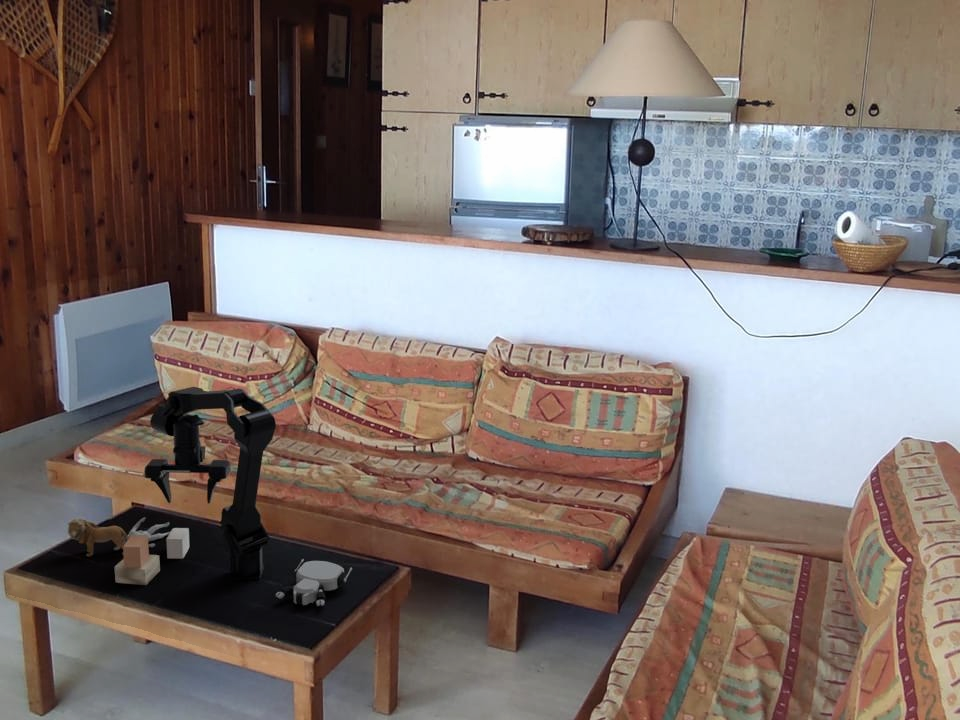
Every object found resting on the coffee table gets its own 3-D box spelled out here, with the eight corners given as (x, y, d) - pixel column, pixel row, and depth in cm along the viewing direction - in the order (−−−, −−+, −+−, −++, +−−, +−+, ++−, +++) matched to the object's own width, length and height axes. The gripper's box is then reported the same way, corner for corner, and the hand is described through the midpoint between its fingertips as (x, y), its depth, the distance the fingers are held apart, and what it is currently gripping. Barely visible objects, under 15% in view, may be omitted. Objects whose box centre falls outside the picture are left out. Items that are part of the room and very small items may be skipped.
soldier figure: (177, 543, 226) (136, 545, 216) (165, 553, 228) (124, 555, 218) (167, 515, 229) (127, 516, 219) (155, 525, 231) (114, 526, 221)
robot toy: (324, 618, 195) (353, 581, 208) (323, 599, 193) (353, 563, 207) (272, 607, 198) (304, 572, 212) (271, 589, 197) (303, 554, 210)
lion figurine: (68, 561, 213) (65, 524, 211) (71, 550, 218) (68, 515, 216) (136, 555, 217) (133, 519, 215) (137, 545, 222) (135, 510, 220)
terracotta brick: (149, 555, 209) (147, 535, 208) (141, 567, 203) (139, 547, 202) (132, 555, 209) (131, 534, 208) (124, 567, 203) (123, 546, 202)
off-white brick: (189, 547, 222) (188, 528, 221) (183, 558, 216) (182, 539, 215) (174, 547, 222) (173, 528, 221) (167, 558, 216) (166, 539, 215)
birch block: (160, 571, 210) (159, 555, 209) (145, 586, 204) (144, 569, 203) (130, 568, 211) (129, 552, 210) (115, 583, 204) (114, 566, 203)
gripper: (234, 430, 225) (236, 490, 229) (155, 428, 224) (159, 489, 228) (224, 445, 214) (226, 508, 218) (142, 444, 213) (145, 507, 217)
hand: (189, 502), depth 220 cm, fingers open, 9 cm apart
